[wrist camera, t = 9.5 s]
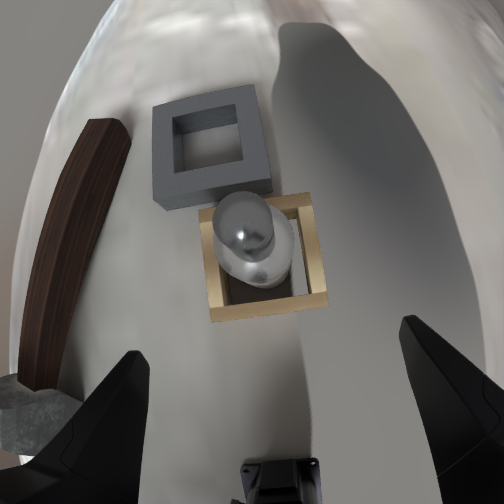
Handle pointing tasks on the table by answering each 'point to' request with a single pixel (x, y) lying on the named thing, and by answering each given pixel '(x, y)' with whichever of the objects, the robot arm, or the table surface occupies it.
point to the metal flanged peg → (252, 240)
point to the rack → (317, 297)
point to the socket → (217, 176)
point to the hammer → (59, 287)
